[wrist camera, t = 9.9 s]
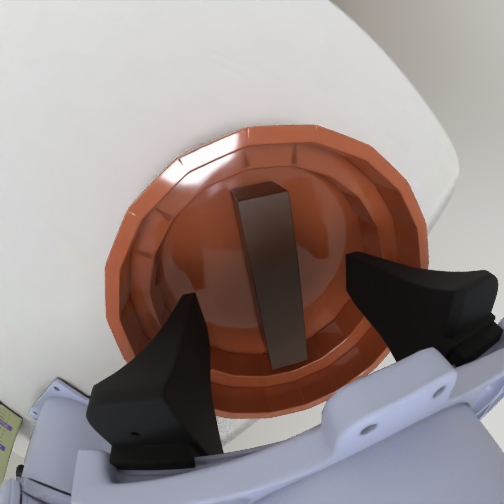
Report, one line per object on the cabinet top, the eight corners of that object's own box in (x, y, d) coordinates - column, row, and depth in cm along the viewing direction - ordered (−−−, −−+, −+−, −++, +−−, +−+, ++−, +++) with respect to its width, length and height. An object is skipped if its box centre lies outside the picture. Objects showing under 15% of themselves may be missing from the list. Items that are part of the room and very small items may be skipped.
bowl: (250, 391, 19) (263, 441, 15) (81, 266, 13) (46, 314, 9) (408, 265, 17) (451, 298, 13) (283, 72, 11) (321, 46, 7)
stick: (294, 332, 16) (308, 360, 14) (262, 340, 16) (271, 370, 14) (272, 180, 12) (288, 190, 10) (229, 189, 12) (236, 201, 10)
